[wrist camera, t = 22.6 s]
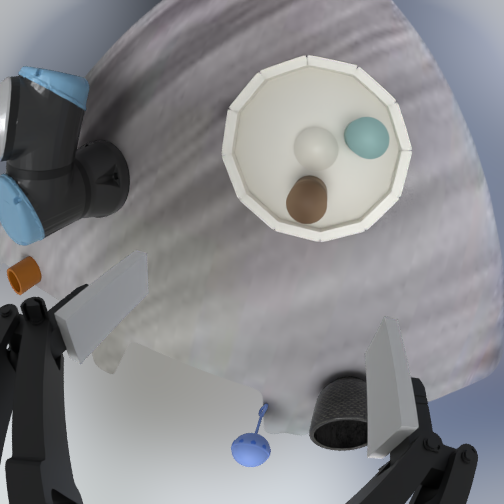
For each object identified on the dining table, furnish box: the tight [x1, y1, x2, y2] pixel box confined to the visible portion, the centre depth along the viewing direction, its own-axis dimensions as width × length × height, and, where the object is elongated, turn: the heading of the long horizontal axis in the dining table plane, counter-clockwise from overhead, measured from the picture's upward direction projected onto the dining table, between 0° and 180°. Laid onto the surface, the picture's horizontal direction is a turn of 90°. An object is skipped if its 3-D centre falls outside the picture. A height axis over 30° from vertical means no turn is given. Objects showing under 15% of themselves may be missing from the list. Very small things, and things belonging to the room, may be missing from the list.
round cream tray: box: [221, 55, 412, 242], centre depth 37 cm, size 26×26×3 cm
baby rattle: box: [231, 404, 271, 467], centre depth 56 cm, size 9×9×18 cm
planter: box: [309, 377, 368, 451], centre depth 49 cm, size 14×14×13 cm
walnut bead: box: [286, 175, 327, 224], centre depth 37 cm, size 5×5×7 cm
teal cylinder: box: [344, 117, 389, 159], centre depth 32 cm, size 5×5×7 cm
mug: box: [7, 256, 41, 295], centre depth 66 cm, size 9×12×9 cm
